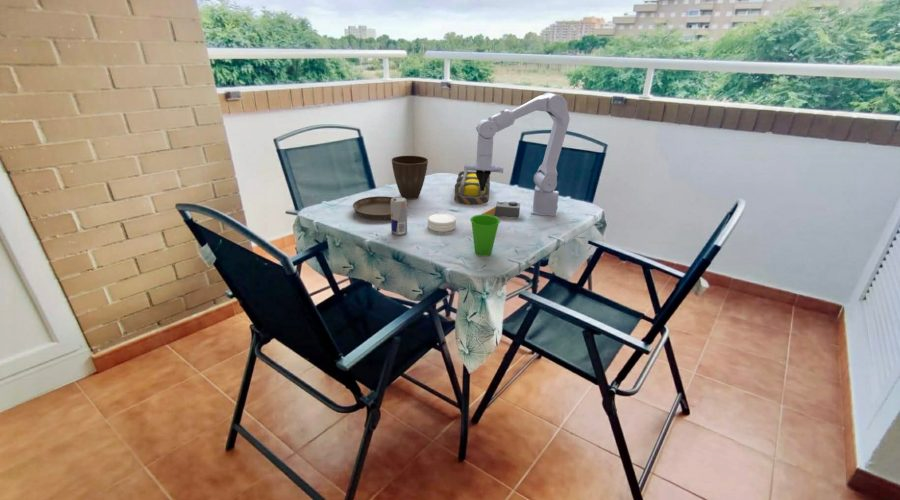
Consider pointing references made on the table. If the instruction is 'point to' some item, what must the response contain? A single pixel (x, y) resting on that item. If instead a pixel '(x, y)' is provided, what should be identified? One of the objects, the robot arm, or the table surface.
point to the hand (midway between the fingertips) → (482, 190)
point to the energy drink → (398, 215)
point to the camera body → (507, 209)
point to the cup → (484, 233)
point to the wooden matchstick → (490, 211)
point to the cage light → (470, 189)
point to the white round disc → (441, 222)
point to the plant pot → (409, 175)
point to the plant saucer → (374, 207)
